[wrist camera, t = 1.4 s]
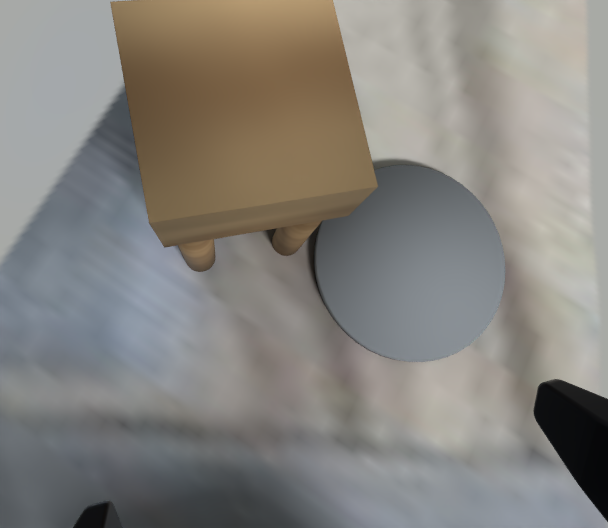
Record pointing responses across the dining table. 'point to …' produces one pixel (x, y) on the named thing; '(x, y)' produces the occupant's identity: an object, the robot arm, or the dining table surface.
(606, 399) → the robot arm
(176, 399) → the dining table surface
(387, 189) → the disc
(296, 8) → the wooden stool
